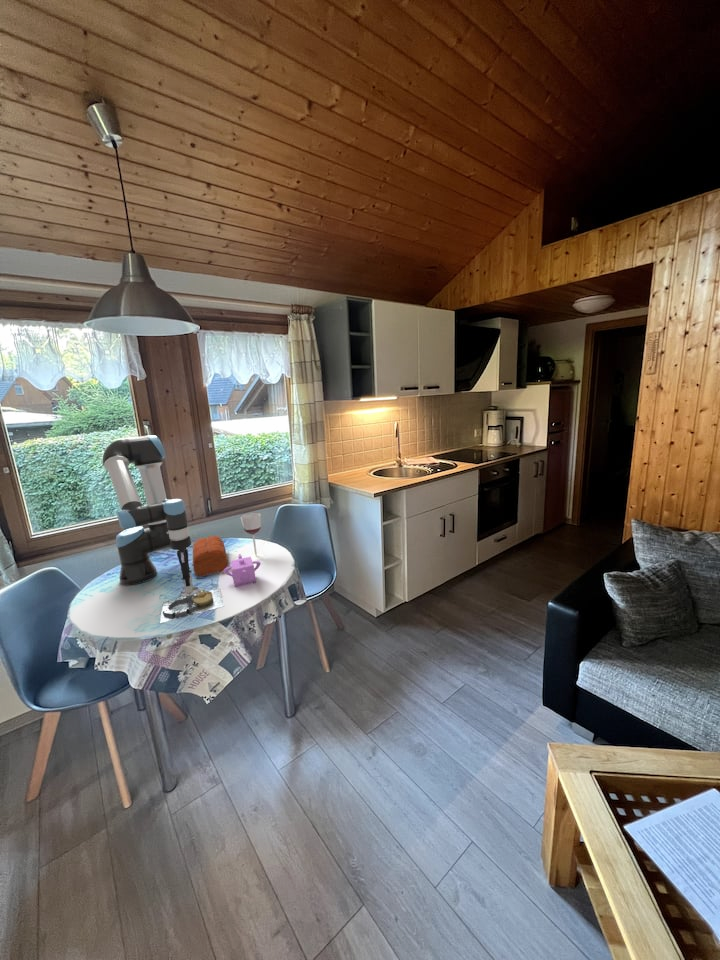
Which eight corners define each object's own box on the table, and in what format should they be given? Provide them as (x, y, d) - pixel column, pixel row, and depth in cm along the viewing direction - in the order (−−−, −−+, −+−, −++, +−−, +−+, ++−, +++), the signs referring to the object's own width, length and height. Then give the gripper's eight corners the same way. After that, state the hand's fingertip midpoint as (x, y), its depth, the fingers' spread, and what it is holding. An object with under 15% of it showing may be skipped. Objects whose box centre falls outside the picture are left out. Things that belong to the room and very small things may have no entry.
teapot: (220, 586, 166) (216, 563, 164) (242, 573, 178) (239, 551, 175) (247, 593, 159) (243, 568, 157) (268, 578, 171) (265, 555, 168)
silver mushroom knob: (181, 592, 163) (177, 574, 161) (198, 588, 165) (195, 570, 164) (180, 600, 157) (177, 581, 155) (199, 595, 159) (196, 576, 157)
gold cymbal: (193, 599, 154) (192, 589, 153) (212, 595, 156) (210, 585, 155) (194, 608, 147) (192, 597, 146) (213, 603, 150) (211, 592, 149)
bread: (194, 578, 176) (190, 556, 174) (193, 557, 200) (190, 538, 198) (229, 570, 182) (226, 549, 180) (225, 550, 206) (222, 532, 204)
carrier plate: (163, 605, 154) (162, 599, 153) (221, 591, 162) (220, 585, 161) (160, 626, 139) (159, 620, 139) (224, 609, 148) (223, 603, 147)
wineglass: (263, 560, 190) (257, 518, 185) (244, 561, 190) (238, 519, 185) (267, 553, 198) (262, 512, 194) (249, 554, 199) (243, 513, 194)
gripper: (170, 533, 161) (179, 584, 166) (168, 546, 147) (179, 601, 152) (189, 529, 164) (198, 580, 169) (190, 542, 150) (199, 596, 155)
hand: (189, 590), depth 161 cm, fingers closed on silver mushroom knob, 3 cm apart
